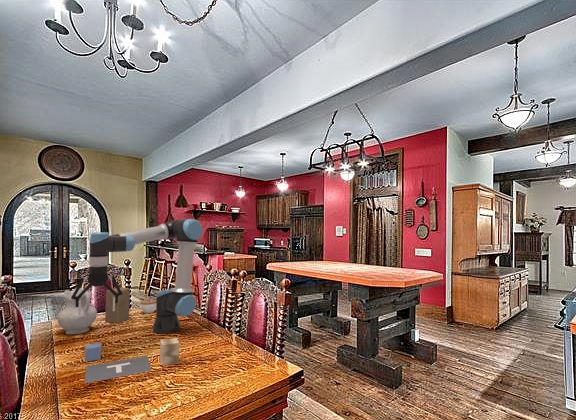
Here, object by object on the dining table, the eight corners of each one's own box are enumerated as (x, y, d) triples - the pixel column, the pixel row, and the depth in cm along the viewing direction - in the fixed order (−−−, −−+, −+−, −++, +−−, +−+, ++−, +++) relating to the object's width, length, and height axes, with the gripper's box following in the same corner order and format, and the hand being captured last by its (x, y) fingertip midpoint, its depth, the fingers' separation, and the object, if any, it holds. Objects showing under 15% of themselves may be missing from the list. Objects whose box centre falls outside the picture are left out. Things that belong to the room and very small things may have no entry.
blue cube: (100, 355, 155) (101, 342, 155) (100, 360, 150) (100, 346, 150) (85, 358, 152) (86, 344, 152) (84, 362, 147) (85, 349, 147)
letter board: (147, 356, 153) (147, 355, 153) (151, 371, 138) (151, 370, 138) (86, 367, 142) (86, 366, 142) (83, 384, 126) (84, 383, 126)
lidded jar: (143, 310, 239) (143, 297, 239) (158, 310, 240) (159, 297, 240) (138, 314, 228) (138, 300, 229) (154, 314, 229) (154, 300, 230)
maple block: (176, 358, 152) (176, 338, 153) (178, 363, 146) (179, 342, 146) (159, 360, 149) (160, 340, 149) (162, 366, 143) (162, 345, 143)
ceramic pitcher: (106, 330, 195) (110, 287, 199) (75, 338, 177) (80, 291, 180) (79, 327, 202) (83, 285, 206) (47, 334, 184) (52, 288, 187)
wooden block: (118, 323, 207) (119, 290, 208) (104, 322, 209) (105, 290, 210) (129, 318, 217) (130, 288, 218) (115, 318, 219) (116, 287, 220)
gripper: (127, 263, 162) (126, 307, 161) (66, 266, 150) (65, 314, 149) (129, 265, 156) (127, 311, 155) (65, 268, 144) (63, 317, 142)
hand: (96, 312), depth 152 cm, fingers open, 13 cm apart
